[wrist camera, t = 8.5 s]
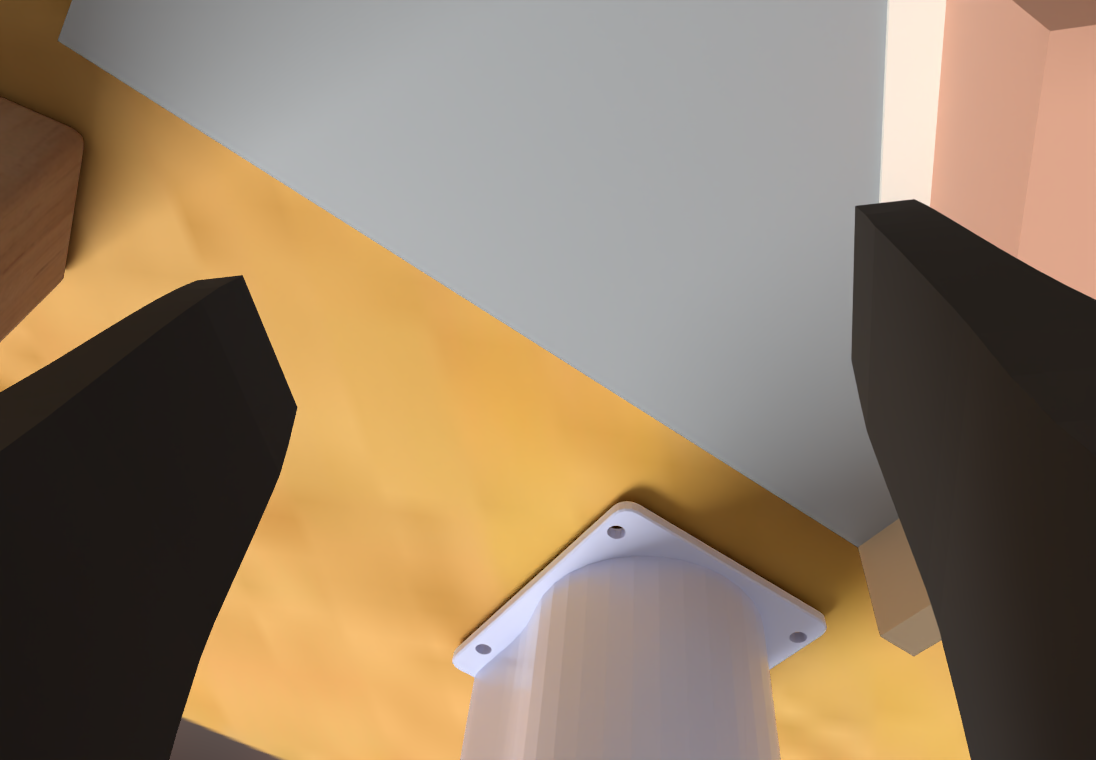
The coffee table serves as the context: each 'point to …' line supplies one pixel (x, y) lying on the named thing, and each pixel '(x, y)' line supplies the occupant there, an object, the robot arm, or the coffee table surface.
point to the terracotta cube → (1021, 131)
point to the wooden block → (34, 207)
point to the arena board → (590, 195)
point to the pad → (911, 98)
